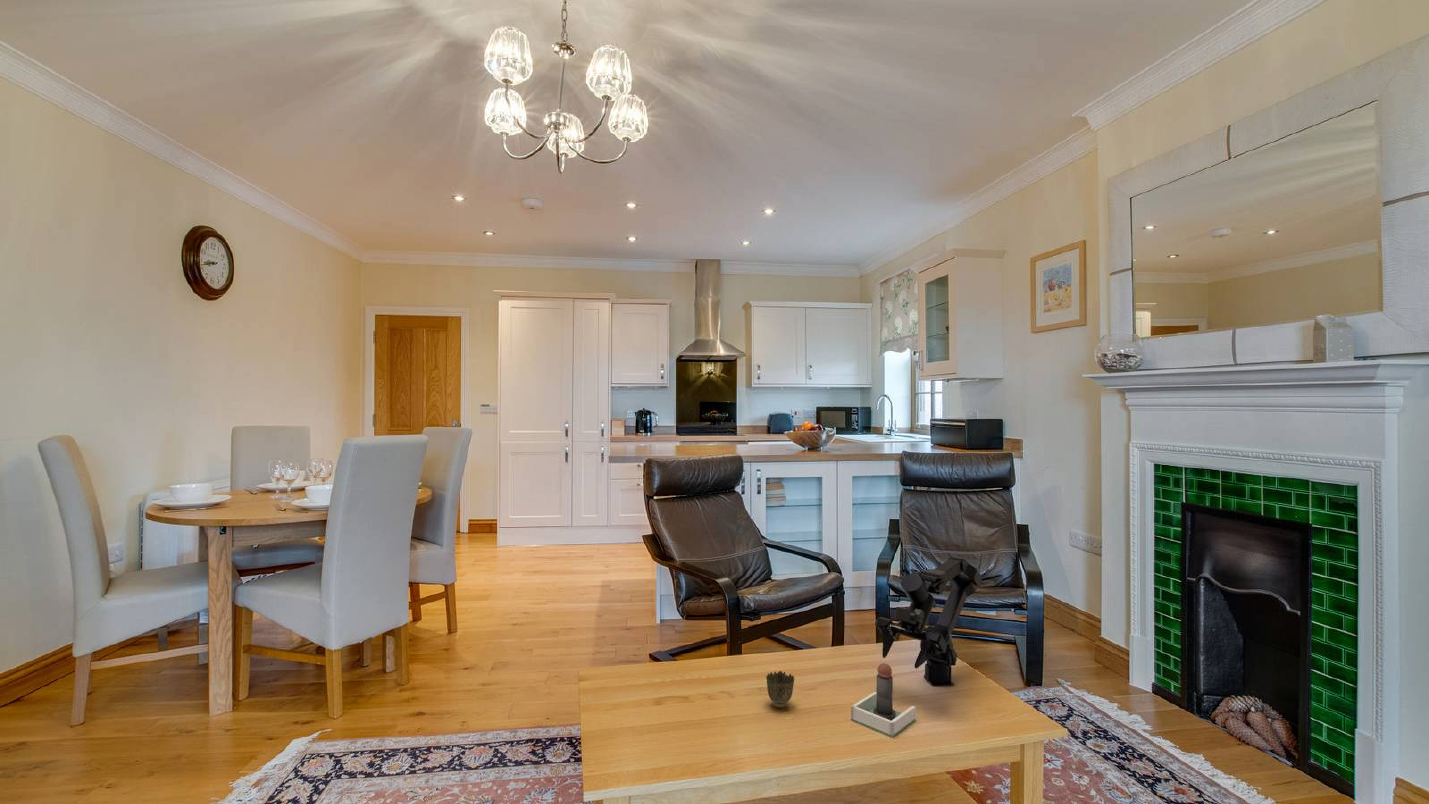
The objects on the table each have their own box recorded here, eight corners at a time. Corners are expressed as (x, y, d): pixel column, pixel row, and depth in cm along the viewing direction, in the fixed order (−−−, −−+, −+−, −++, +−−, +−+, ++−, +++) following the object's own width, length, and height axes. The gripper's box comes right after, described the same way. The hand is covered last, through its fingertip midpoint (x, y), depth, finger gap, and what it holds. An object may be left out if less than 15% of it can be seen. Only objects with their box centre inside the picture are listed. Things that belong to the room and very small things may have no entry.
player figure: (884, 710, 164) (884, 657, 164) (900, 719, 160) (900, 665, 160) (868, 715, 162) (869, 662, 162) (884, 725, 157) (884, 670, 157)
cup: (799, 706, 167) (799, 676, 167) (782, 716, 161) (783, 685, 161) (777, 697, 172) (777, 668, 172) (760, 706, 166) (760, 676, 166)
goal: (874, 704, 169) (875, 691, 169) (915, 720, 161) (915, 706, 161) (850, 720, 160) (851, 706, 160) (892, 737, 152) (892, 723, 152)
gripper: (879, 587, 177) (857, 636, 169) (943, 603, 164) (923, 657, 156) (892, 609, 182) (871, 658, 174) (955, 626, 169) (936, 679, 161)
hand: (899, 662), depth 166 cm, fingers open, 9 cm apart
